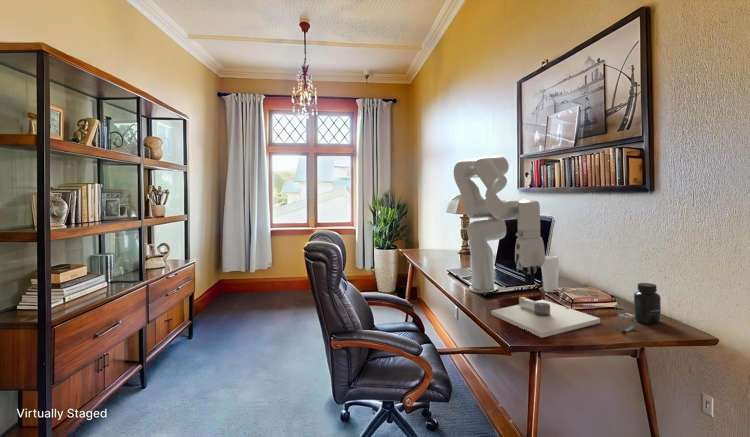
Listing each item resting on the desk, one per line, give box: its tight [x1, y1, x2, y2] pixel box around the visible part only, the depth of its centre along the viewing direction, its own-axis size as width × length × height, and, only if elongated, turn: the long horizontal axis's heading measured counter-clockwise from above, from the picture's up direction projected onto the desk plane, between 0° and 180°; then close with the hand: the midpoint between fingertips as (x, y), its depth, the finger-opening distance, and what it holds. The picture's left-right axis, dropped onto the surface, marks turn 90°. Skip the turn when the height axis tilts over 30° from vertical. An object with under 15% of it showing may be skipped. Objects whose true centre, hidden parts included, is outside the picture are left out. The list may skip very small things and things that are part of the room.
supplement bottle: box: [633, 282, 662, 326], centre depth 114 cm, size 7×7×12 cm
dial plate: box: [490, 299, 601, 339], centre depth 124 cm, size 24×24×2 cm
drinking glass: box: [540, 255, 560, 292], centre depth 152 cm, size 7×7×15 cm
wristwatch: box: [616, 312, 637, 333], centre depth 109 cm, size 6×3×5 cm, turn 105°
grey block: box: [518, 296, 550, 316], centre depth 127 cm, size 12×5×3 cm, turn 20°
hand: (529, 283), depth 132 cm, fingers closed
